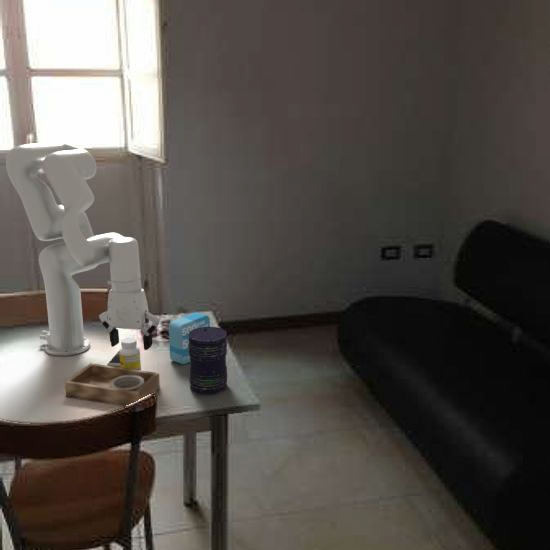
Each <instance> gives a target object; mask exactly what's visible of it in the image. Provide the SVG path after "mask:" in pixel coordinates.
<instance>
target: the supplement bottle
mask: <svg viewBox="0 0 550 550" xmlns="http://www.w3.org/2000/svg"><path fill="white" fill-rule="evenodd" d="M120 343H121V345H120V346H121V347H120V349H119V350H118V351H119V355H120V367H121V368H127V369H134V370H141V371H142V367H141V366H142V365H141V350H140V347H139V346H138V345H137V344H138V343H137V338H134V337H124V338H123V339H121V341H120Z"/></svg>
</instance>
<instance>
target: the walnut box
mask: <svg viewBox="0 0 550 550" xmlns="http://www.w3.org/2000/svg"><path fill="white" fill-rule="evenodd" d="M160 384H161V383H160V372H155V371H148V370H147V371H146V370H142V369H141V370H134V369H127V368H121V367H114V366H107V365H106V364H99V363H92V362H90V363H88V365H86V366H85V367H84V368H82V369H81V370H79V371H78V372H76V373H75V374H74V375H72V376H71V377H70V378H69V379H67V380H66V381H65V382H64V389H65V390H64V391H65V398H70V399H78V400H83V401H90V402H94V403H95V402H97V403H101V404H107V405H112V406H113V405H115V406H120V407H125V406H126V405H129V404H131V403H134V402H136V401H138V400H139V399H141V398H143V397H145V396H147V395H149V394H152V393H153V394H155V392H156V391H157V390H159V388H161V386H160ZM153 394H152V395H153Z"/></svg>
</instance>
